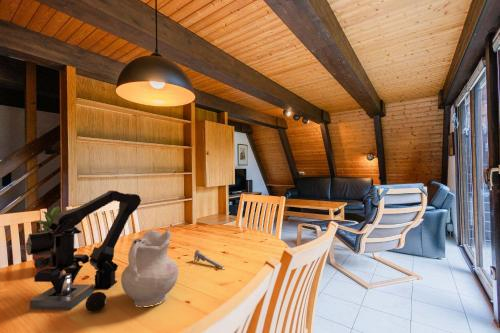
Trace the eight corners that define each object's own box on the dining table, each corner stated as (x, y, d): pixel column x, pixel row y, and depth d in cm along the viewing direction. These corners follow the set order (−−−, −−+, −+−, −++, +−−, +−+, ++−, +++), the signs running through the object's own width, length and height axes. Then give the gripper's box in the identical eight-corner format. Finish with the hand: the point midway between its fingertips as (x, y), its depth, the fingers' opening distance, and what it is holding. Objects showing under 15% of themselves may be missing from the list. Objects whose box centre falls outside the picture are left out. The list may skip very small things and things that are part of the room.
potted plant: (28, 279, 106) (29, 209, 106) (35, 267, 119) (36, 205, 119) (70, 272, 114) (71, 207, 114) (73, 261, 127) (74, 203, 127)
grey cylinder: (74, 291, 92) (74, 272, 92) (65, 298, 87) (65, 278, 88) (62, 291, 92) (62, 272, 92) (52, 297, 88) (52, 278, 88)
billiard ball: (89, 307, 85) (90, 289, 86) (108, 305, 87) (109, 287, 87) (82, 317, 80) (82, 298, 80) (102, 314, 81) (103, 296, 81)
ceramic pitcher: (166, 321, 80) (174, 243, 80) (103, 318, 78) (111, 239, 79) (180, 289, 101) (185, 228, 102) (131, 286, 100) (137, 224, 100)
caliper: (194, 261, 130) (194, 249, 130) (195, 260, 131) (195, 248, 131) (224, 270, 118) (224, 257, 118) (225, 269, 119) (225, 256, 119)
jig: (93, 292, 95) (93, 283, 96) (70, 310, 83) (70, 300, 84) (58, 291, 96) (58, 283, 96) (29, 309, 84) (29, 299, 84)
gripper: (63, 239, 100) (62, 278, 99) (18, 256, 81) (17, 304, 81) (90, 240, 99) (89, 279, 99) (51, 256, 81) (50, 304, 80)
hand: (63, 290), depth 90 cm, fingers closed on grey cylinder, 4 cm apart
